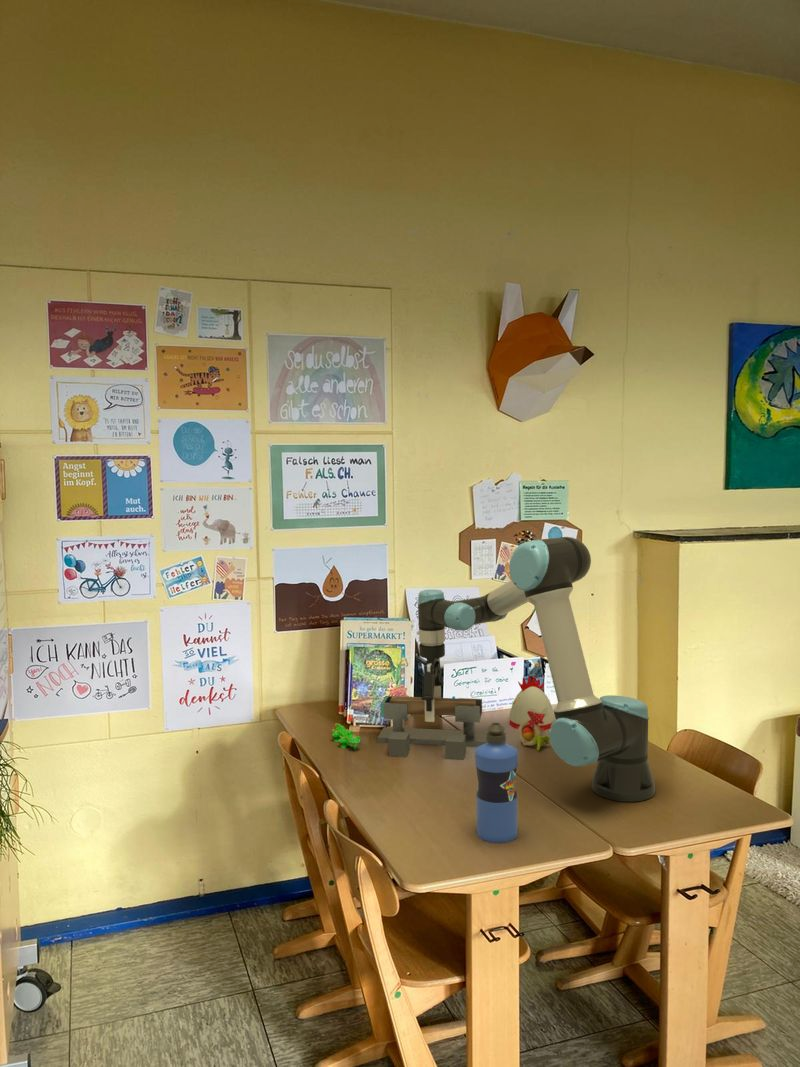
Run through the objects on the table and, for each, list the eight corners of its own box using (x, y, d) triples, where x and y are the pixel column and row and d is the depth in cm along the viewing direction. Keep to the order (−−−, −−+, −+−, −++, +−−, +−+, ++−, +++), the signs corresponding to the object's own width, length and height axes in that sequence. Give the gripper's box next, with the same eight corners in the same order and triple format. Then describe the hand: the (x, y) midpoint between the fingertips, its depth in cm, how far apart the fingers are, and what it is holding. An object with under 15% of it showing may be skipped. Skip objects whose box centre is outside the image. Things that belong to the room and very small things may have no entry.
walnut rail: (474, 716, 241) (474, 703, 240) (390, 713, 245) (389, 700, 245) (476, 712, 245) (476, 699, 244) (392, 709, 249) (392, 696, 249)
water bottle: (468, 836, 183) (466, 726, 181) (488, 820, 191) (486, 714, 189) (506, 847, 178) (505, 733, 176) (525, 830, 186) (524, 721, 184)
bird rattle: (520, 756, 236) (546, 749, 231) (506, 718, 238) (532, 711, 233) (531, 750, 241) (557, 743, 236) (517, 713, 243) (542, 705, 238)
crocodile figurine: (346, 754, 235) (346, 740, 235) (325, 735, 252) (324, 721, 251) (368, 750, 238) (367, 736, 238) (345, 732, 254) (345, 718, 254)
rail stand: (486, 747, 238) (486, 707, 237) (377, 742, 244) (376, 704, 243) (489, 736, 247) (488, 698, 246) (383, 732, 253) (383, 695, 252)
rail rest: (463, 759, 229) (463, 742, 229) (388, 756, 233) (388, 738, 233) (465, 751, 235) (465, 734, 234) (392, 748, 239) (392, 731, 238)
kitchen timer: (503, 718, 264) (503, 672, 262) (545, 715, 266) (544, 669, 265) (517, 732, 250) (517, 684, 248) (561, 729, 252) (561, 680, 251)
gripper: (425, 633, 256) (427, 701, 258) (411, 652, 232) (413, 727, 234) (450, 633, 254) (451, 702, 256) (438, 653, 230) (439, 728, 232)
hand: (433, 714), depth 245 cm, fingers open, 13 cm apart
